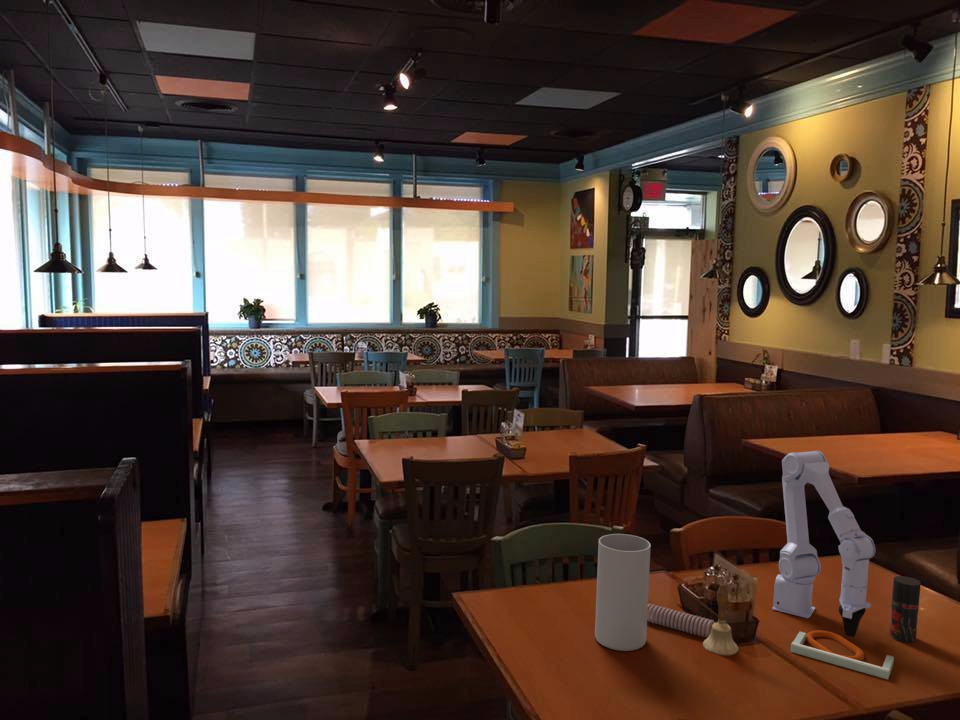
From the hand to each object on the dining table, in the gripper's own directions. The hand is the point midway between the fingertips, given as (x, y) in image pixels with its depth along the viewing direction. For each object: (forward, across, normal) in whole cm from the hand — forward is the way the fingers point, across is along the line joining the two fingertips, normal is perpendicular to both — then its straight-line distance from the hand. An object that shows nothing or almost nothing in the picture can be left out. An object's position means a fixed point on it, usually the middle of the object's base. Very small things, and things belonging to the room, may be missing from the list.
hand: (850, 635), depth 190 cm
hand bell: (+1, -24, +25) cm, 35 cm away
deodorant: (+1, +10, -10) cm, 14 cm away
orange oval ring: (+2, -7, +2) cm, 8 cm away
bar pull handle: (+1, -12, 0) cm, 12 cm away
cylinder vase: (+1, -37, +46) cm, 59 cm away
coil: (+2, -21, +37) cm, 42 cm away
